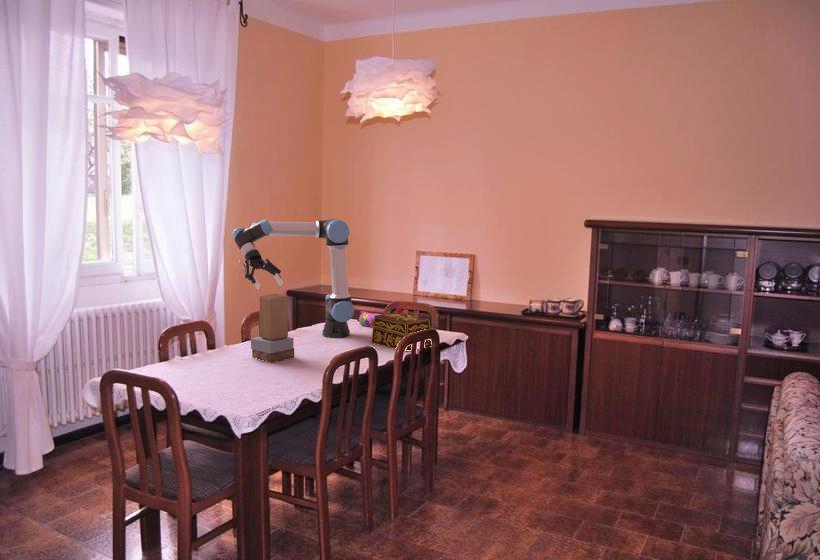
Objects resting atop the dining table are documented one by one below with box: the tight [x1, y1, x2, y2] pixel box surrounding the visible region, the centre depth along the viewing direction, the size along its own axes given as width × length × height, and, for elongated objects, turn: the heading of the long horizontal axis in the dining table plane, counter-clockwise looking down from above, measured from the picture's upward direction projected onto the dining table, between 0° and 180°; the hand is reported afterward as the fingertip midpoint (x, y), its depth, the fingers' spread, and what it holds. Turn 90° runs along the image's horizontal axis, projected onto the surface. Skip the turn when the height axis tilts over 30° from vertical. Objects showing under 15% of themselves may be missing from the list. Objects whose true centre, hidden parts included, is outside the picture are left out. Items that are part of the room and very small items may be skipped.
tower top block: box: [250, 336, 294, 353], centre depth 312 cm, size 14×14×5 cm
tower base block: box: [251, 347, 295, 364], centre depth 313 cm, size 14×14×5 cm
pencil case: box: [356, 310, 383, 328], centre depth 390 cm, size 22×9×9 cm, turn 52°
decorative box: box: [371, 312, 432, 350], centre depth 345 cm, size 28×19×15 cm
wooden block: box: [258, 293, 289, 340], centre depth 311 cm, size 10×10×20 cm
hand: (270, 286), depth 321 cm, fingers open, 13 cm apart
